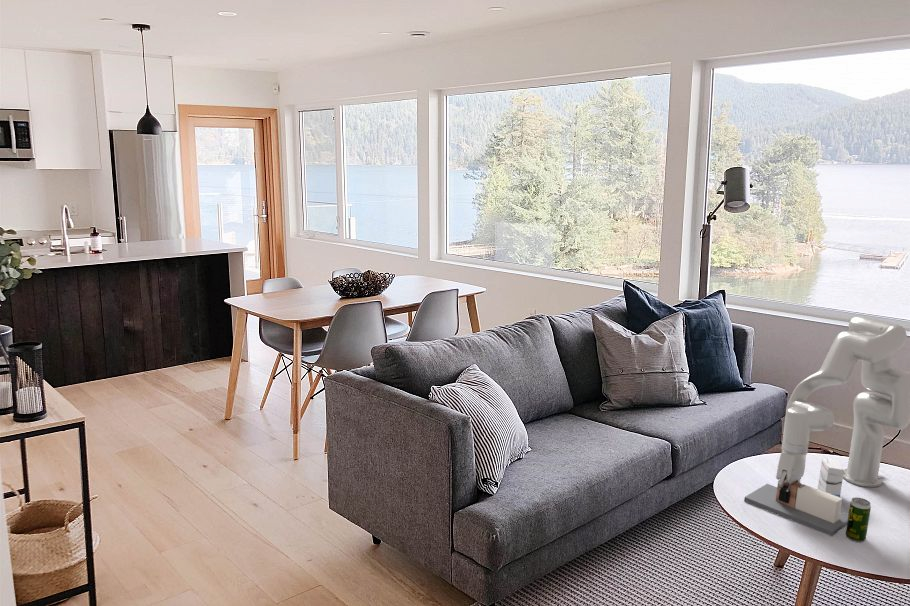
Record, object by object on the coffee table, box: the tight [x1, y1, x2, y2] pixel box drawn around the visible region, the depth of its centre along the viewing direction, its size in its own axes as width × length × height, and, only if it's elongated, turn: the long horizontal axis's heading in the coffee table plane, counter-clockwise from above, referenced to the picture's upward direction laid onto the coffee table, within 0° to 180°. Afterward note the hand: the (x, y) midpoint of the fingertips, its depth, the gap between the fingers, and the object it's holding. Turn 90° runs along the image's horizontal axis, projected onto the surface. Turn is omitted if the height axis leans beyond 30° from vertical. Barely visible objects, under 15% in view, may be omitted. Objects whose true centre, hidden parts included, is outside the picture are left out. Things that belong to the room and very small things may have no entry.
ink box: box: [817, 457, 845, 498], centre depth 245 cm, size 8×5×12 cm, turn 168°
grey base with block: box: [743, 483, 849, 537], centre depth 235 cm, size 15×28×9 cm, turn 41°
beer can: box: [845, 497, 872, 544], centre depth 219 cm, size 5×5×12 cm
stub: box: [776, 479, 803, 508], centre depth 237 cm, size 4×6×7 cm, turn 41°
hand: (788, 498), depth 238 cm, fingers open, 5 cm apart
